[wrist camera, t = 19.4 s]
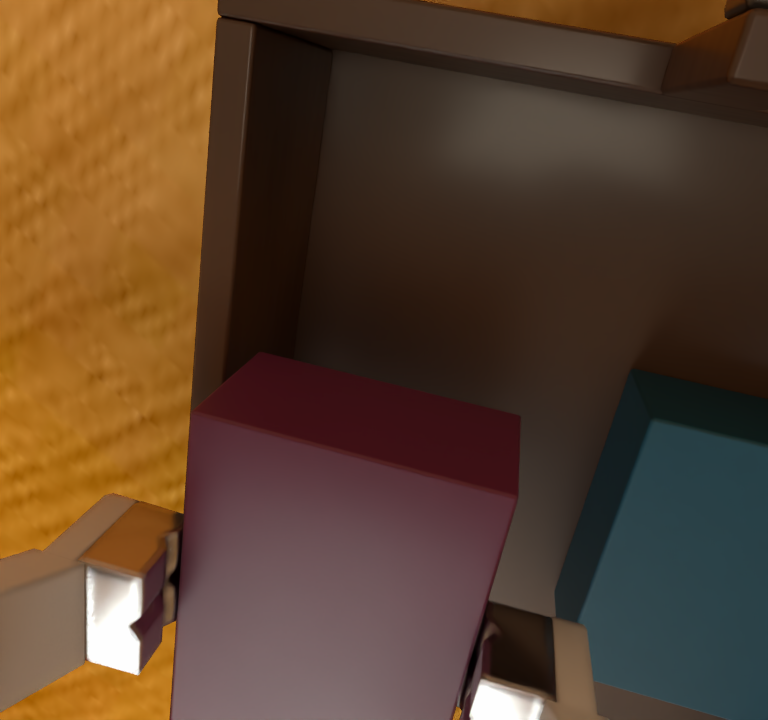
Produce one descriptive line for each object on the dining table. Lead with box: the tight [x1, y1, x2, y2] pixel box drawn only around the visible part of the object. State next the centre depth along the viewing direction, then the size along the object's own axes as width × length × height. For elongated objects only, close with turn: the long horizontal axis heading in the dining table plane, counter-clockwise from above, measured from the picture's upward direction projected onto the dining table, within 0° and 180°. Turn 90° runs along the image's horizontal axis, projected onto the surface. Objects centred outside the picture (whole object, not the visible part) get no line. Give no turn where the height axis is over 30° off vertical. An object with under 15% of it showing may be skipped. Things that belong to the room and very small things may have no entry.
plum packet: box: [170, 352, 521, 720], centre depth 11 cm, size 6×4×2 cm
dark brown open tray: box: [170, 0, 768, 720], centre depth 11 cm, size 21×13×8 cm, turn 170°
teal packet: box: [554, 369, 768, 720], centre depth 13 cm, size 6×4×2 cm
